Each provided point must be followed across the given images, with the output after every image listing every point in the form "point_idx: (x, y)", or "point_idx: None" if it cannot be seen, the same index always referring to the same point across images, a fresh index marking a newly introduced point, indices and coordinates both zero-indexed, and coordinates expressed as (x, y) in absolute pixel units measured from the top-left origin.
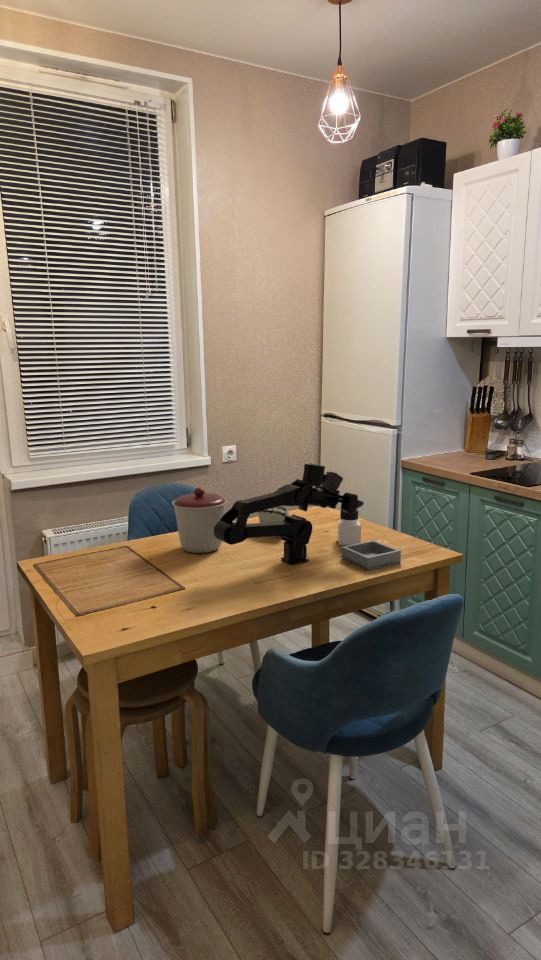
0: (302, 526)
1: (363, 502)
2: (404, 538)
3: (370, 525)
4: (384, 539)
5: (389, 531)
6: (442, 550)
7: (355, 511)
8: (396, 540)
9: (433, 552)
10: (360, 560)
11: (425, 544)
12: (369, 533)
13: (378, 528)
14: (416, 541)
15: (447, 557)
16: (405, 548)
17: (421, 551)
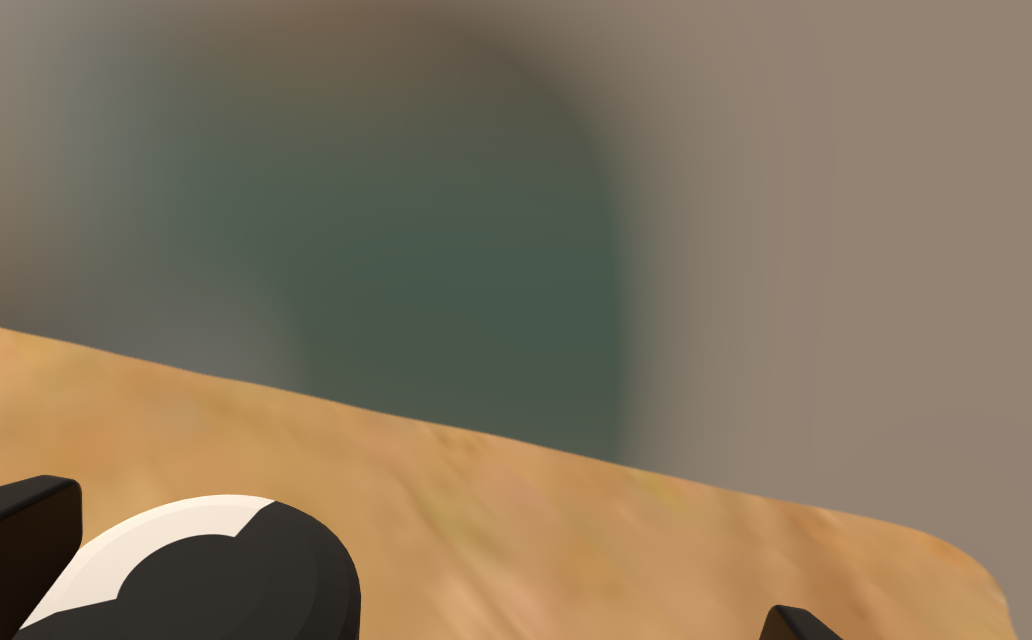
0: None
1: (805, 621)
2: (545, 467)
3: (206, 384)
4: (467, 552)
5: (383, 415)
6: (854, 519)
7: (345, 611)
8: (542, 523)
9: (878, 579)
10: None
11: (711, 488)
12: None
13: (287, 404)
14: (635, 474)
15: (1004, 605)
16: (727, 628)
17: (834, 610)
